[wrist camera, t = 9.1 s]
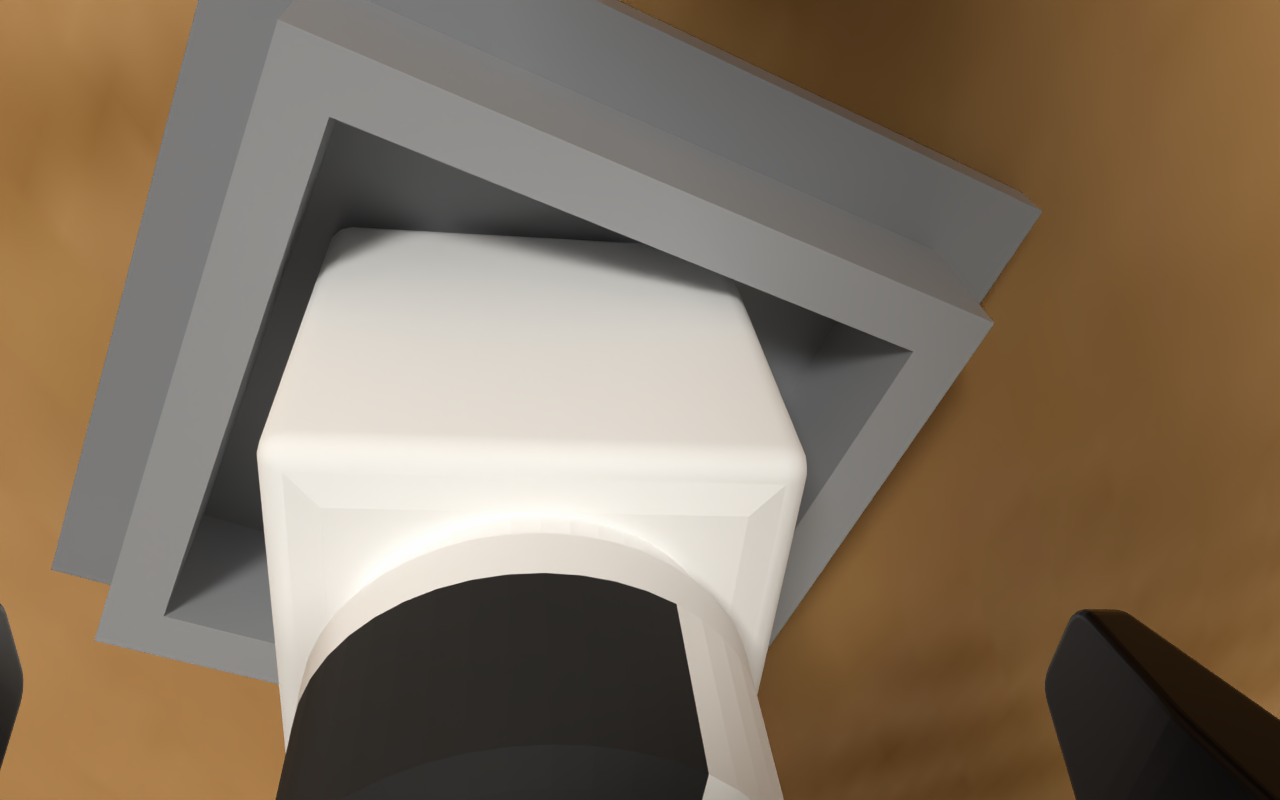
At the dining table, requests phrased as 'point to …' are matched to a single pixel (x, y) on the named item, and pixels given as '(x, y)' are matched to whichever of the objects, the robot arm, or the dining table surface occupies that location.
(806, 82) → the dining table surface
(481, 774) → the medicine bottle
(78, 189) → the dining table surface
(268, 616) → the bottle caddy
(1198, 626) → the dining table surface
